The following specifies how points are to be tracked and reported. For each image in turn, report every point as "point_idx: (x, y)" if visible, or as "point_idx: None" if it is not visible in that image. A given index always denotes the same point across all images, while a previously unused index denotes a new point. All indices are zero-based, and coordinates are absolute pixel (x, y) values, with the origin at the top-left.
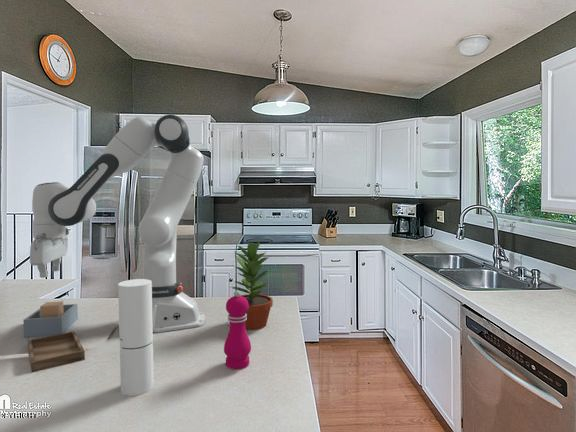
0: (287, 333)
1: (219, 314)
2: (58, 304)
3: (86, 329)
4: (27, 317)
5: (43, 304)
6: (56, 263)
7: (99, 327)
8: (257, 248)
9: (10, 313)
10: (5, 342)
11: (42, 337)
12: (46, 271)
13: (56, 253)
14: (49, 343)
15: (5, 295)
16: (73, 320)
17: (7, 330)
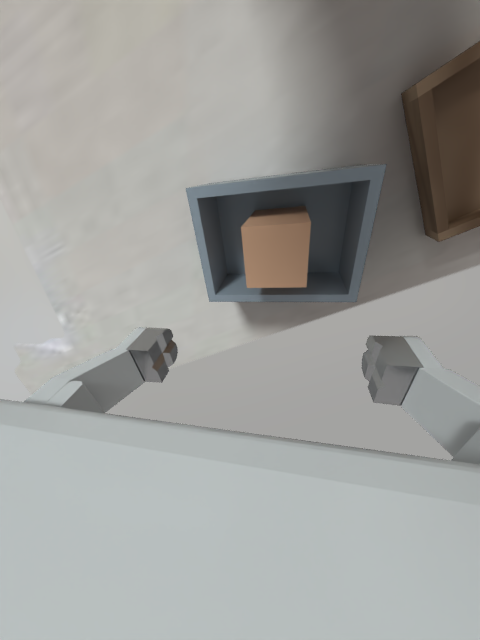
0: None
1: None
2: (292, 225)
3: (294, 98)
4: (332, 299)
5: (277, 286)
6: (116, 378)
7: (281, 33)
8: None
9: None
10: (341, 309)
11: (433, 203)
12: (430, 370)
13: (155, 554)
14: (453, 168)
15: None
16: (246, 179)
17: (258, 334)
